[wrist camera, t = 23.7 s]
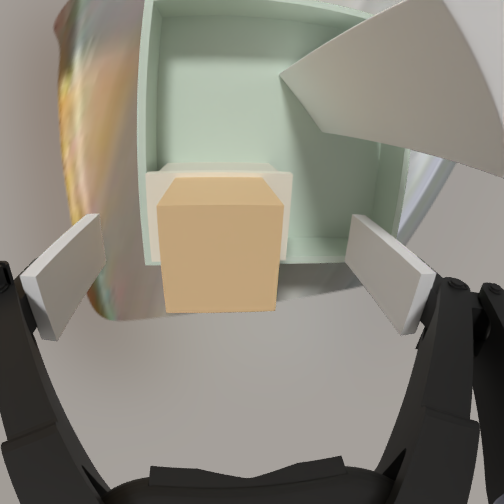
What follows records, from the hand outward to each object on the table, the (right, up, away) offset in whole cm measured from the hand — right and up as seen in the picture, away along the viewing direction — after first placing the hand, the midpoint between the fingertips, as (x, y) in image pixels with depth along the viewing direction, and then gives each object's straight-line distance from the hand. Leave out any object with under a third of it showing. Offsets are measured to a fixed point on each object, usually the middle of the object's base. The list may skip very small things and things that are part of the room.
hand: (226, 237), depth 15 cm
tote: (+3, +9, +8) cm, 13 cm away
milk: (+7, +13, +7) cm, 16 cm away
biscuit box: (-1, +1, +3) cm, 3 cm away
